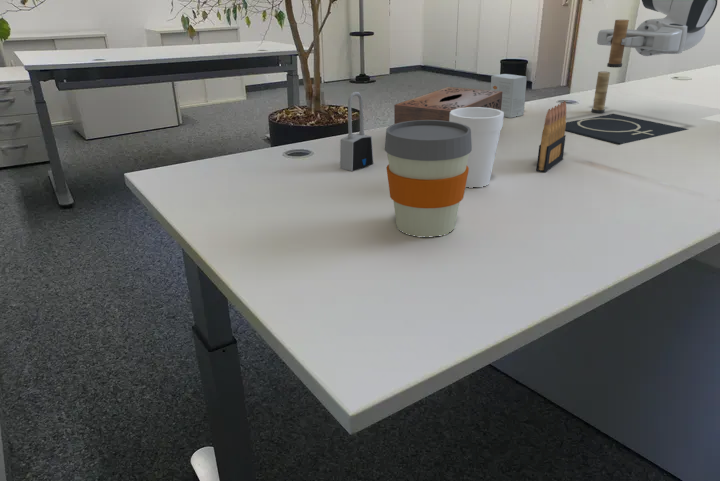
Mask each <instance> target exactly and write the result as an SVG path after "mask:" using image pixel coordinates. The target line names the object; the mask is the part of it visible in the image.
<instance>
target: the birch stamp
mask: <svg viewBox="0 0 720 481" xmlns="http://www.w3.org/2000/svg"><path fill="white" fill-rule="evenodd" d="M610 77H611V72H610V71H607V70H606V71H605V70H604V71H598V72H597V78H596V84H595V91H594V98H593V104H592V107H591V113H594V114H605V111H606V109H605V107H606V100H607V95H608V89H609V88H608V87H609V82H610Z"/></svg>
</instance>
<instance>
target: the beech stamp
mask: <svg viewBox="0 0 720 481" xmlns="http://www.w3.org/2000/svg"><path fill="white" fill-rule="evenodd" d="M629 22H630V20H629V19H615V20H614V24H613V25H614V26H613V29H614V31H613V38H612V44H611V46H610V51H609V57H608V62H607V64H606V67H607V68H622V67H623V57H624V51H625V47H624V46H623V45H621V42H622V38H625V37H626V34H627V29H628V28H629Z"/></svg>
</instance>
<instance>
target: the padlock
mask: <svg viewBox="0 0 720 481" xmlns="http://www.w3.org/2000/svg"><path fill="white" fill-rule="evenodd" d="M354 97H358V104H359V105H358V107H359V131H358V132H359V133H353V126H352V125H353V122H352V120H353V118H352V117H353V116H352V102H353V99H354ZM363 102H364V101H363V96H362V94H361V93H360V92H359V91H354V92H352V93H350V95H349V96H348V98H347V125H348V126H347V127H348V128H347V130H348V134H347V135H346V136H344V137H342V138H340V142H339V143H340V145H339V146H340V147H339V148H340V149H339V168H340V169H341V170H345V171H349V172H355V171H358V170H361V169H366V168H367V167H369V166H372V165H373V164H374V151H373V150H374V149H373V148H374V147H373V136H372V135H368V134H365V130H364V103H363Z"/></svg>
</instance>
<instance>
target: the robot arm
mask: <svg viewBox="0 0 720 481" xmlns="http://www.w3.org/2000/svg"><path fill="white" fill-rule="evenodd" d="M641 2H642V5H643V7H644V8H645V9H647V10H651V11H654V12H658V13H661V14H663V15H666V16H665V17H663V18H661V17H660V18H651V19H650V18H649V19H647V20H645V21H643V22H641V23H640V24H638V26H637V28H636V29H628V28H627V34H626V37H625V38H622V42H621V45H623V46H624V48H630V49H635V51H636V52H637V53H638V54H639V55H641V56H642V57H653V56H661V55H679V54H680V55H681V54H683V52H685V51H688V50H691V49H693V48H694V47H695V46H697V45H698V44H699V43H700V42H701V41H702V40H703V39H704V36H705V33H706V25H707V24H708V23H709V21H710V20H711V18H712V17H713V16H714V13H715V11H716V9H717V6H718V0H641ZM613 31H614V28H610V29H608V28H607V29H599V31H598V32H597V37H596V40H597V41H596V44H597V45H599V46H609V47H611V44H612V38H613Z"/></svg>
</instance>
